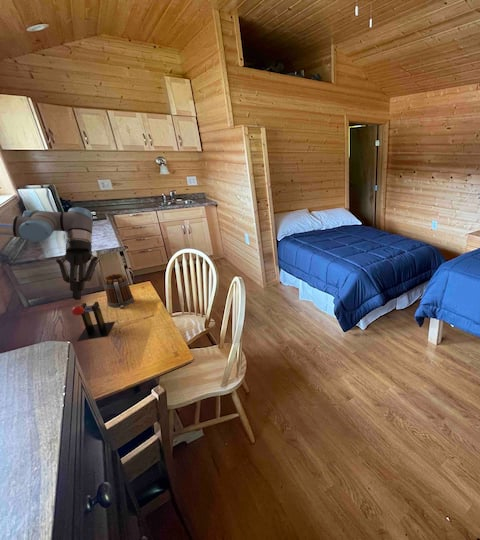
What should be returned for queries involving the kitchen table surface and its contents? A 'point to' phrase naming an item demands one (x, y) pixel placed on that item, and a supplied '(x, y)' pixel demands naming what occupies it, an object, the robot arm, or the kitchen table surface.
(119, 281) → the mug
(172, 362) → the kitchen table surface
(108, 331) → the lever base
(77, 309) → the lever
